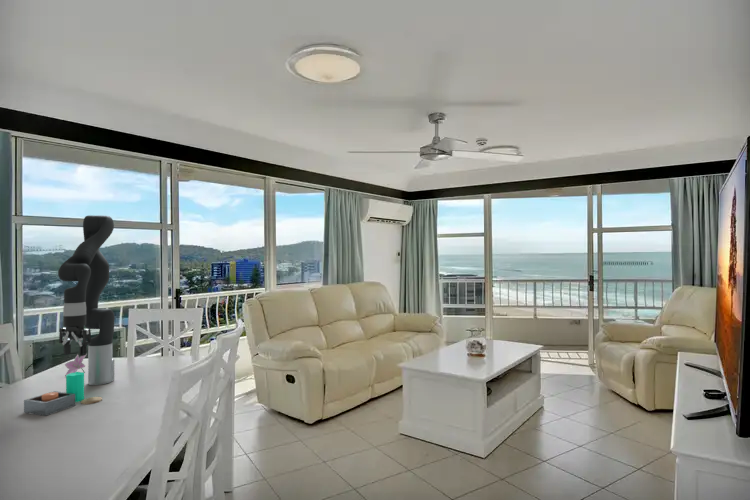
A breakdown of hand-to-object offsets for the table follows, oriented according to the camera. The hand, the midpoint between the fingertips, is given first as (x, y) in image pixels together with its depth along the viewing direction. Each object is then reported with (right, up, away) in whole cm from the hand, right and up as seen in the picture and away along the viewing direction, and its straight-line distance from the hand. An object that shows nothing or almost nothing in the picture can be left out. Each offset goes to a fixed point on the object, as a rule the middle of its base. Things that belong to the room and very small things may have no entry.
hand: (75, 354), depth 171 cm
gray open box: (-3, -18, -10) cm, 21 cm away
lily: (-25, -19, +36) cm, 48 cm away
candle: (0, -18, 0) cm, 18 cm away
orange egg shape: (-3, -15, -10) cm, 18 cm away
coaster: (+8, -18, -2) cm, 19 cm away
